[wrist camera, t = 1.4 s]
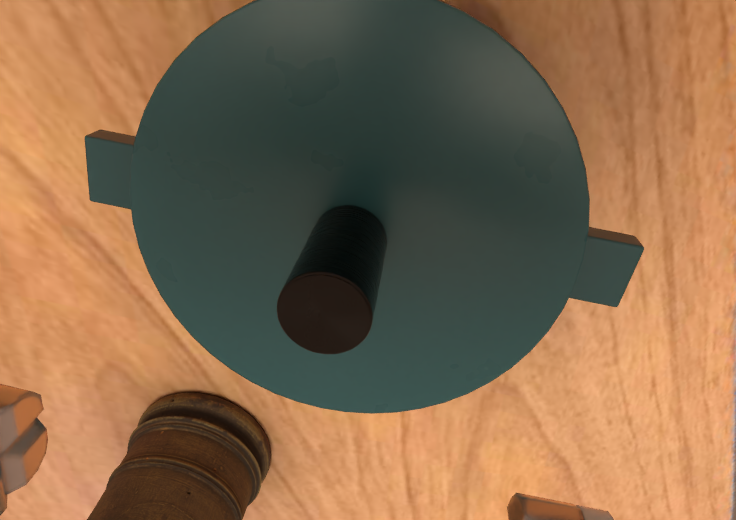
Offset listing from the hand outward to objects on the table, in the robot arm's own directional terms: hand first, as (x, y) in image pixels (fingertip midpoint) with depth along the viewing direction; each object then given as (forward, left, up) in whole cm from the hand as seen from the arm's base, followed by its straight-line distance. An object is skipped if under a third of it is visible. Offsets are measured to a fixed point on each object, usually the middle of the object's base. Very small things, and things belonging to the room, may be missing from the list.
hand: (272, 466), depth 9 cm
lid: (0, 0, -10) cm, 10 cm away
